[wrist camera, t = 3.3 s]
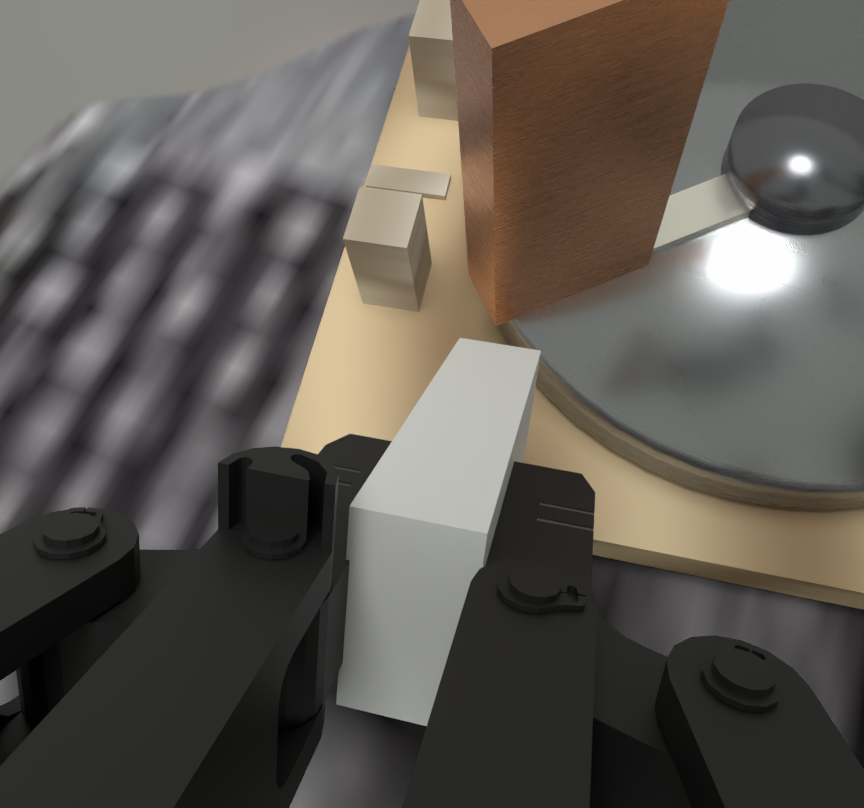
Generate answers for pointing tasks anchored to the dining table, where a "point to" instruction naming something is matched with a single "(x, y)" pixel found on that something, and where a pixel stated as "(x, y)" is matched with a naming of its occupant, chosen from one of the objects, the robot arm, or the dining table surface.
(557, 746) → the robot arm
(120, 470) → the dining table surface
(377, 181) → the tan record player
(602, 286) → the disc
